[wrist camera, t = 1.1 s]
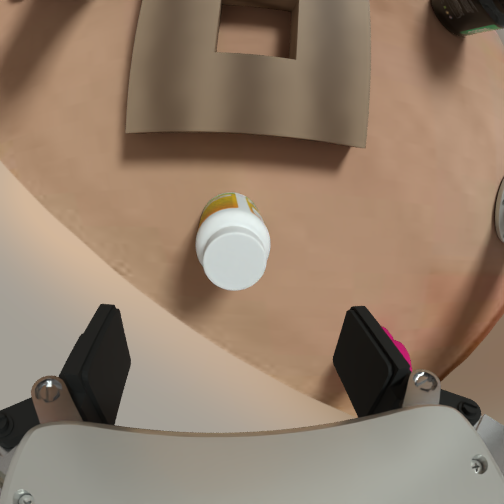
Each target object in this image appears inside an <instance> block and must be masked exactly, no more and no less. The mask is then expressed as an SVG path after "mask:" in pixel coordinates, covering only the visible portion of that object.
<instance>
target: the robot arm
mask: <svg viewBox="0 0 504 504" xmlns="http://www.w3.org/2000/svg"><path fill="white" fill-rule="evenodd" d="M495 226H496V232H497V235H498V237H499V239H500V240H501V241H502V242H503V243H504V179H503V181H502V184H501V186H500V189H499V192H498V197H497V201H496V209H495ZM333 364H334V366H335V368H336V370H337V373H338V375H339V377H340V379H341V381H342V383H343V385H344V387H345V390H346V392H347V394H348V396H349V398H350V400H351V402H352V405H353V407H354V409H355V411H356V413H357V415H358V418H355V419H350V420H345V421H340V422H334V423H329V424H323V425H317V426H310V427H302V428H293V429H284V430H273V431H259V432H240V433H193V432H190V433H189V432H173V431H172V432H171V431H160V430H148V429H139V428H130V427H122V426H115V425H114V424H115V420H116V416H117V412H118V408H119V404H120V401H121V397H122V393H123V390H124V386H125V383H126V379H127V376H128V372H129V369H130V365H131V359H130V355H129V350H128V346H127V342H126V337H125V333H124V328H123V324H122V319H121V314H120V310H119V309H116V307H115V305H109V304H101V305H100V306H99V308H98V309H97V311H96V313H95V314H94V316H93V318H92V320H91V321H90V323H89V325H88V327H87V328H86V330H85V332H84V333H83V334H81V336H80V337H79V339H78V341H77V342H76V344H75V346H74V348H73V350H72V352H71V353H70V355H69V357H68V359H67V361H66V363H65V365H64V367H63V369H62V371H61V373H60V375H59V377H56V376H45V377H42V378H40V379H39V380H37V381H36V383H34V385H33V387H32V390H31V396H32V397H31V398H29V399H27V400H24V401H22V402H20V403H17V404H15V405H13V406H10V407H8V408H6V409H3V410H1V411H0V504H504V426H503V425H502V424H500V423H498V422H497V421H495V420H494V419H492V418H490V417H489V416H487V415H486V414H484V415H483V416H481V410H480V407H479V406H478V405H477V403H475V402H474V401H473V400H471V399H468V398H465V397H462V396H459V395H456V394H454V393H451V392H448V391H445V390H442V389H441V384H440V380H439V378H438V377H437V376H436V375H435V374H434V373H432V372H430V371H428V370H424V369H417V370H415V371H413V372H411V370H410V367H411V366H410V364H409V363H408V362H407V360H406V359H405V358H404V356H403V355H402V354H401V352H400V351H399V350H398V348H397V347H396V346H395V344H394V343H393V342H392V340H391V339H390V338H389V336H388V335H387V334H386V332H385V331H384V330H383V328H382V327H381V326H380V325H379V323H378V322H377V321H376V319H375V318H374V317H373V316H372V314H371V313H370V312H369V310H368V309H367V308H366V307H365V306H353V307H351V308H350V310H348V311H347V312H346V316H345V319H344V323H343V326H342V330H341V333H340V336H339V340H338V343H337V346H336V349H335V353H334V356H333Z"/></svg>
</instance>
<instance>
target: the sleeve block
mask: <svg viewBox="0 0 504 504" xmlns="http://www.w3.org/2000/svg"><path fill="white" fill-rule="evenodd" d="M222 5H238V6H252V7H262V8H270V9H278V10H285V11H291V30H290V47H289V59H288V58H280V57H273V56H264V55H253V54H240V53H221V52H216V51H217V42H218V33H219V24H220V16H221V8H222ZM370 73H371V27H370V4H369V0H142V5H141V9H140V14H139V19H138V24H137V30H136V35H135V41H134V48H133V54H132V62H131V70H130V78H129V88H128V99H127V113H126V133H136V134H137V133H162V132H210V133H235V134H252V135H265V136H276V137H286V138H295V139H303V140H311V141H318V142H325V143H332V144H338V145H344V146H350V147H358V148H366V138H367V127H368V114H369V98H370Z"/></svg>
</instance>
